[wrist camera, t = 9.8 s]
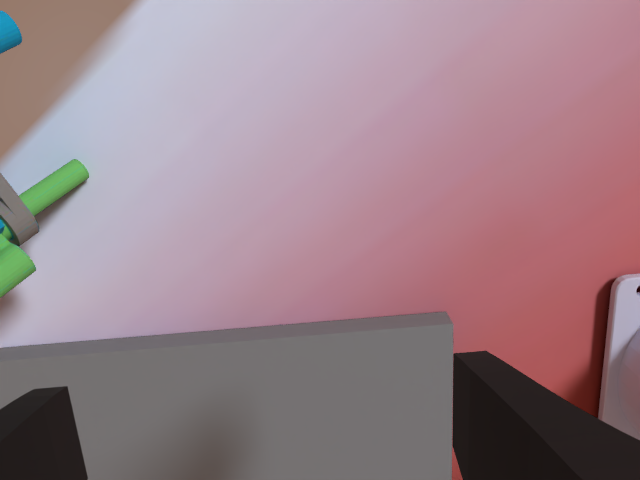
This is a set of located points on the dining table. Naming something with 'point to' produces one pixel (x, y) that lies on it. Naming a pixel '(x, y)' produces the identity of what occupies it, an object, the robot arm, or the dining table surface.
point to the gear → (26, 197)
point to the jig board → (257, 400)
